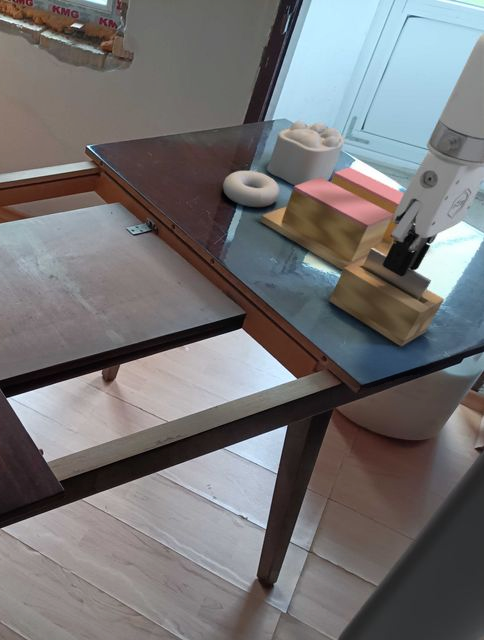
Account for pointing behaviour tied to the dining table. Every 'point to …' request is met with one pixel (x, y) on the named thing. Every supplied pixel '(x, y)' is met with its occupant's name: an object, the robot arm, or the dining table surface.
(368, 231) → the cake
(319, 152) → the lumpy-topped squat cylinder
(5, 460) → the dining table surface
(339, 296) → the knife block
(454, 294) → the dining table surface
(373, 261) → the flat grey rectangular blade
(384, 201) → the cake slice
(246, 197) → the donut
